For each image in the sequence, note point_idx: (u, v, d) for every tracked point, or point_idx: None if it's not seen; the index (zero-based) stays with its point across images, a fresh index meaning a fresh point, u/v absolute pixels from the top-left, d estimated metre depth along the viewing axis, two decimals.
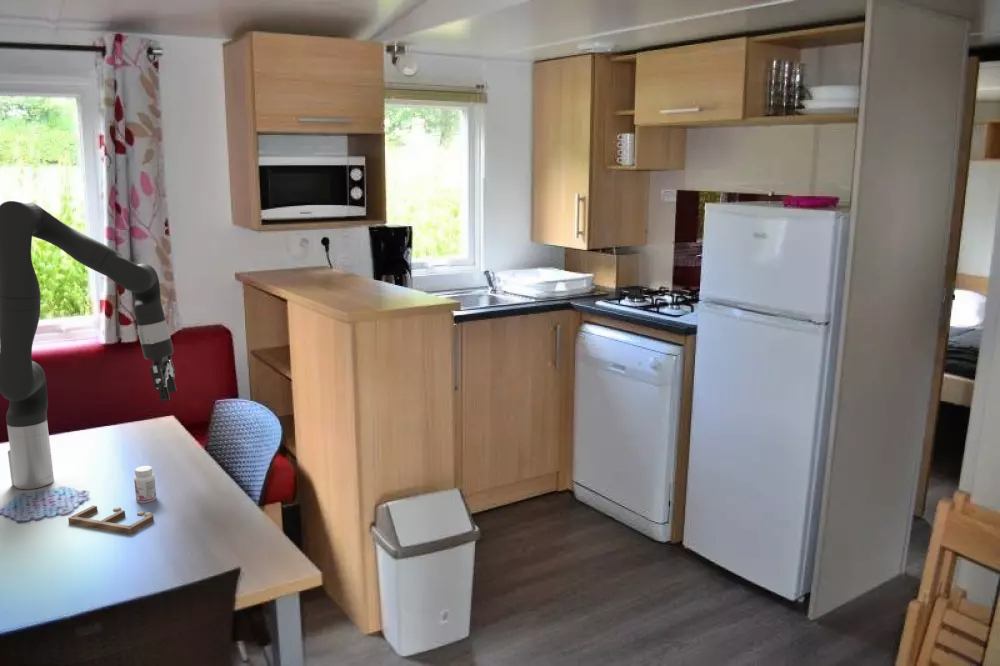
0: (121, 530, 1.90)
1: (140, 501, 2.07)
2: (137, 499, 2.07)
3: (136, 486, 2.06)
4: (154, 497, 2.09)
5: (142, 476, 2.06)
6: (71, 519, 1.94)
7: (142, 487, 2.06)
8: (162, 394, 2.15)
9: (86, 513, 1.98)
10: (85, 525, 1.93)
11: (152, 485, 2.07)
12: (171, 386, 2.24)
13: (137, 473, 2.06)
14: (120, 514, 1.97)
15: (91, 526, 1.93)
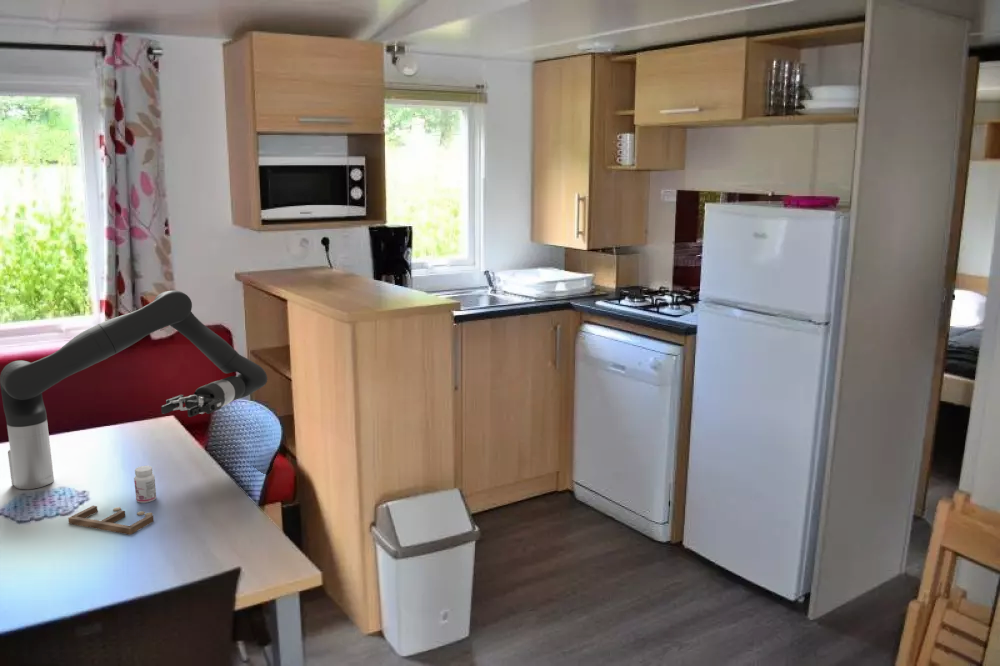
0: (121, 530, 1.90)
1: (140, 501, 2.07)
2: (137, 499, 2.07)
3: (136, 486, 2.06)
4: (154, 497, 2.09)
5: (142, 476, 2.06)
6: (71, 519, 1.94)
7: (142, 487, 2.06)
8: (197, 410, 2.17)
9: (86, 513, 1.98)
10: (85, 525, 1.93)
11: (152, 485, 2.07)
12: (168, 409, 2.20)
13: (137, 473, 2.06)
14: (120, 514, 1.97)
15: (91, 526, 1.93)
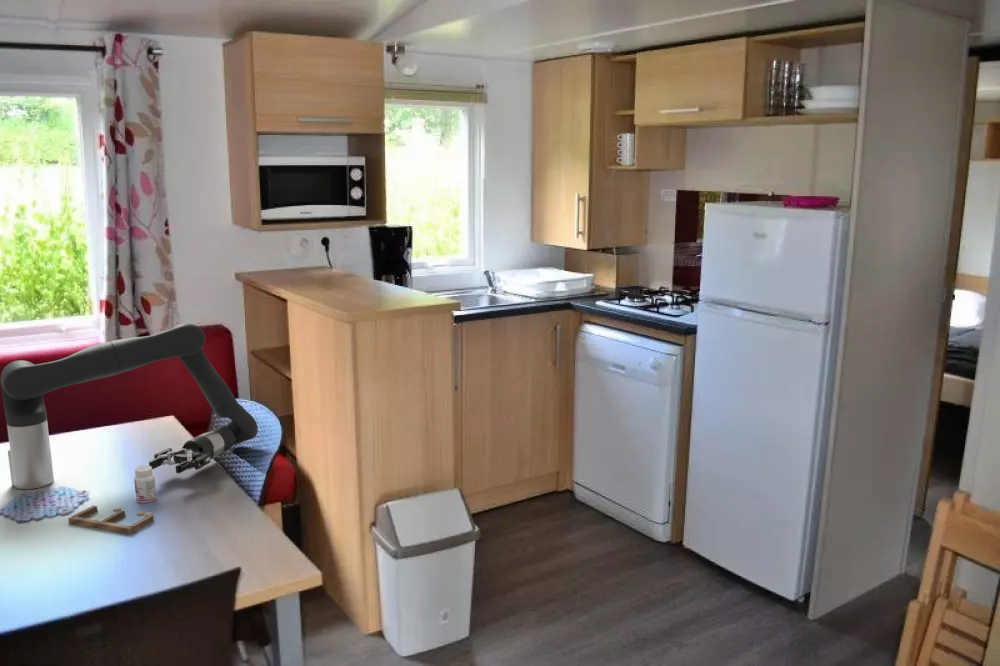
0: (121, 530, 1.90)
1: (140, 501, 2.07)
2: (137, 499, 2.07)
3: (136, 486, 2.06)
4: (154, 497, 2.09)
5: (142, 476, 2.06)
6: (71, 519, 1.94)
7: (142, 487, 2.06)
8: (185, 466, 2.15)
9: (86, 513, 1.98)
10: (85, 525, 1.93)
11: (152, 485, 2.07)
12: (156, 464, 2.17)
13: (137, 472, 2.06)
14: (120, 514, 1.97)
15: (91, 526, 1.93)
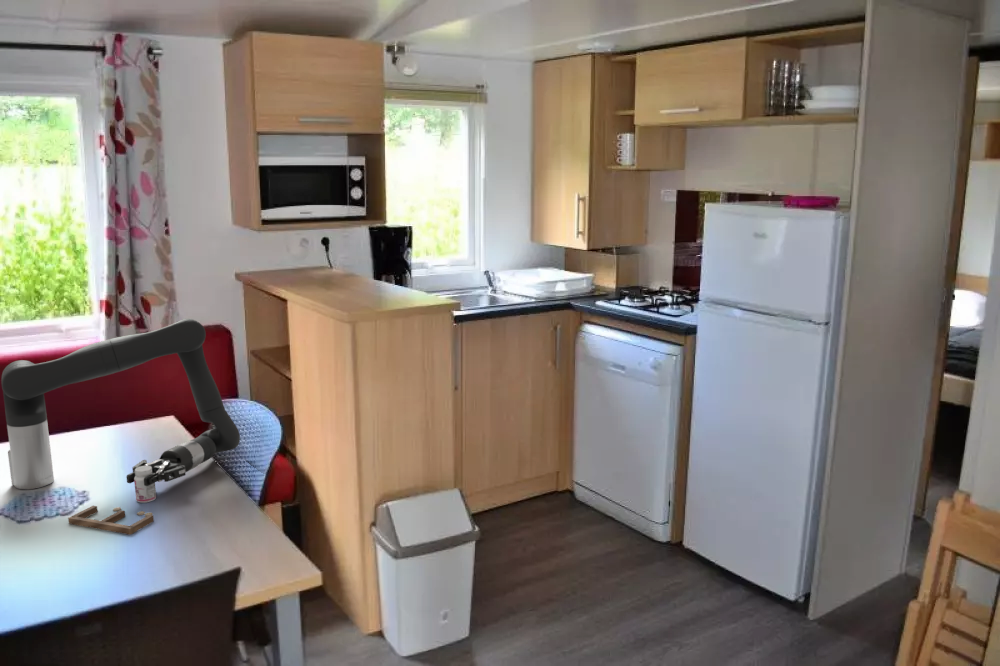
0: (121, 530, 1.90)
1: (140, 501, 2.07)
2: (137, 499, 2.07)
3: (136, 486, 2.06)
4: (154, 497, 2.09)
5: (142, 476, 2.06)
6: (71, 519, 1.94)
7: (141, 486, 2.06)
8: (154, 479, 2.06)
9: (86, 513, 1.98)
10: (85, 525, 1.93)
11: (152, 485, 2.07)
12: None
13: (137, 472, 2.06)
14: (120, 514, 1.97)
15: (91, 526, 1.93)
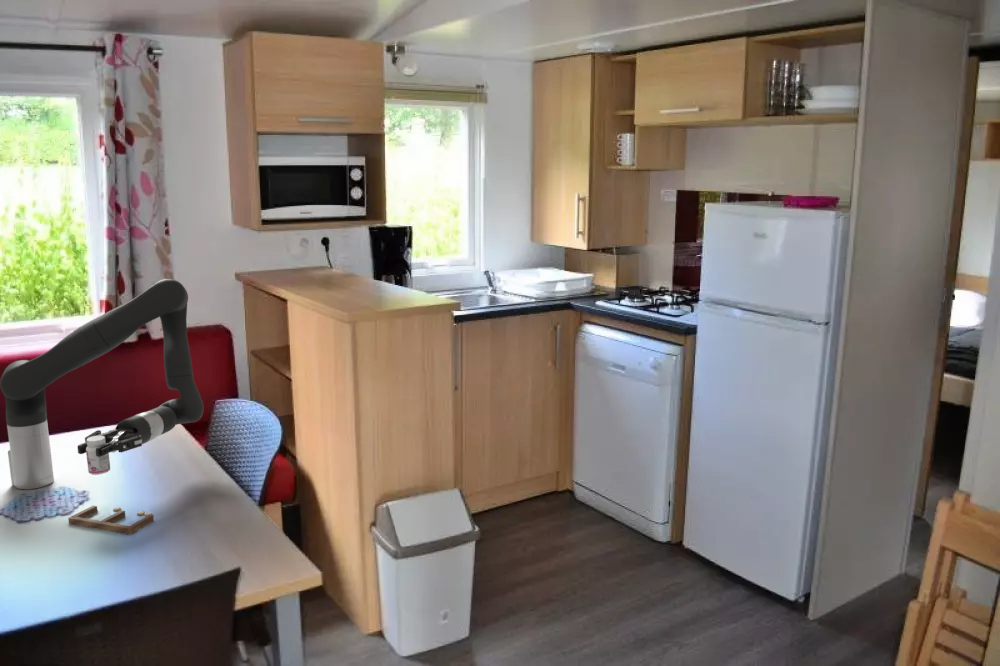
0: (121, 530, 1.90)
1: (92, 473, 1.94)
2: (89, 471, 1.94)
3: (88, 457, 1.94)
4: (108, 469, 1.96)
5: (94, 446, 1.93)
6: (71, 519, 1.94)
7: (94, 457, 1.93)
8: (107, 449, 1.93)
9: (86, 513, 1.98)
10: (85, 525, 1.93)
11: (105, 456, 1.95)
12: (85, 448, 1.95)
13: (88, 442, 1.93)
14: (120, 514, 1.97)
15: (91, 526, 1.93)
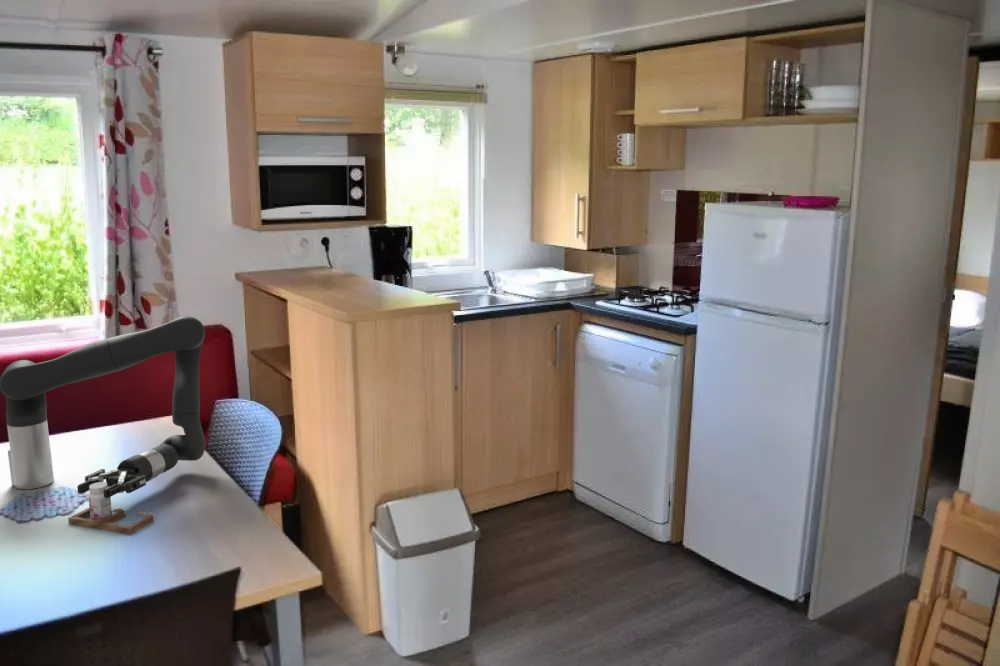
0: (121, 530, 1.90)
1: (94, 519, 1.96)
2: (91, 517, 1.96)
3: (90, 504, 1.95)
4: (110, 515, 1.98)
5: (97, 493, 1.95)
6: (71, 519, 1.94)
7: (96, 504, 1.95)
8: (115, 490, 1.95)
9: (86, 513, 1.98)
10: (85, 525, 1.93)
11: (107, 502, 1.97)
12: (85, 488, 1.97)
13: (91, 490, 1.95)
14: (120, 514, 1.97)
15: (91, 526, 1.93)
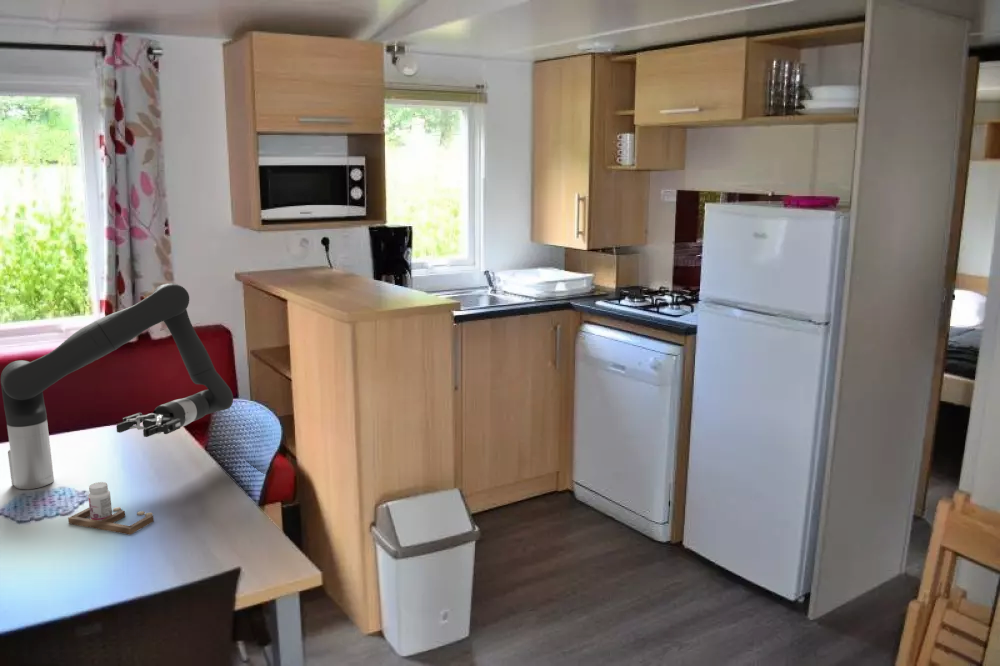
0: (121, 530, 1.90)
1: None
2: (91, 517, 1.96)
3: (90, 504, 1.95)
4: (110, 515, 1.98)
5: (97, 493, 1.95)
6: (71, 519, 1.94)
7: (96, 504, 1.95)
8: (154, 430, 2.08)
9: (86, 513, 1.98)
10: (85, 525, 1.93)
11: (107, 502, 1.97)
12: (123, 427, 2.11)
13: (91, 490, 1.95)
14: (120, 514, 1.97)
15: (91, 526, 1.93)
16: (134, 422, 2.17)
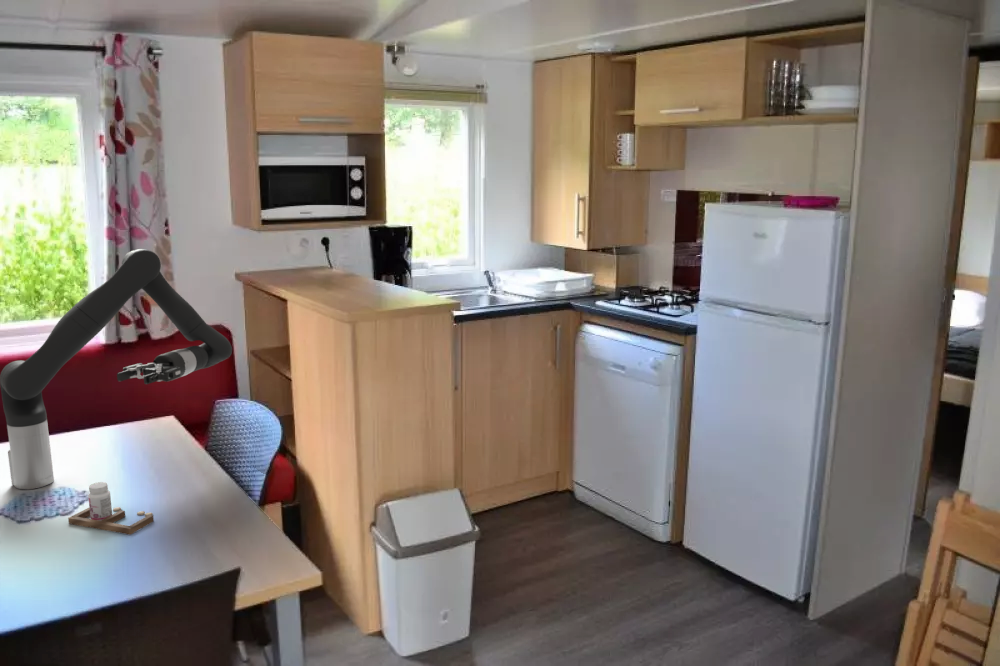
0: (121, 530, 1.90)
1: None
2: (91, 517, 1.96)
3: (90, 504, 1.95)
4: (110, 515, 1.98)
5: (97, 493, 1.95)
6: (71, 519, 1.94)
7: (96, 504, 1.95)
8: (154, 378, 2.10)
9: (86, 513, 1.98)
10: (85, 525, 1.93)
11: (107, 502, 1.97)
12: (124, 376, 2.12)
13: (91, 490, 1.95)
14: (120, 514, 1.97)
15: (91, 526, 1.93)
16: (134, 372, 2.18)
